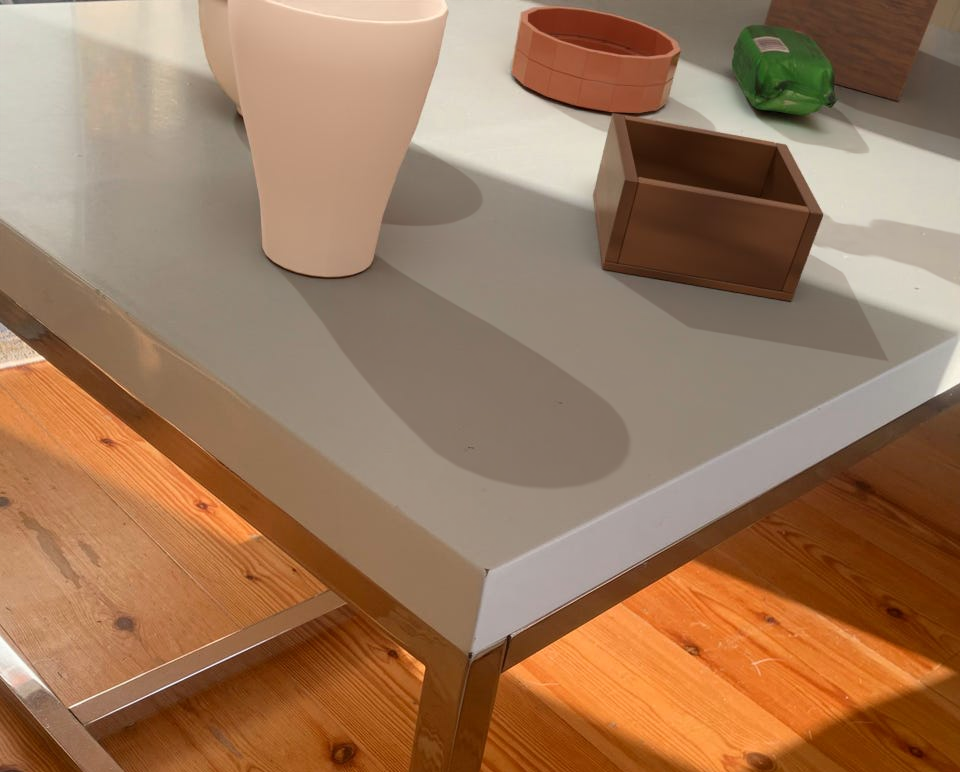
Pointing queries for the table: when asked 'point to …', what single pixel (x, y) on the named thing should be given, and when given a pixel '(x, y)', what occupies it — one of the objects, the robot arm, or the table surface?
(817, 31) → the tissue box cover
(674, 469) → the table surface
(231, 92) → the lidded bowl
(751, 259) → the wooden holder
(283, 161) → the cup
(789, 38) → the snack package
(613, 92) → the terracotta bowl
